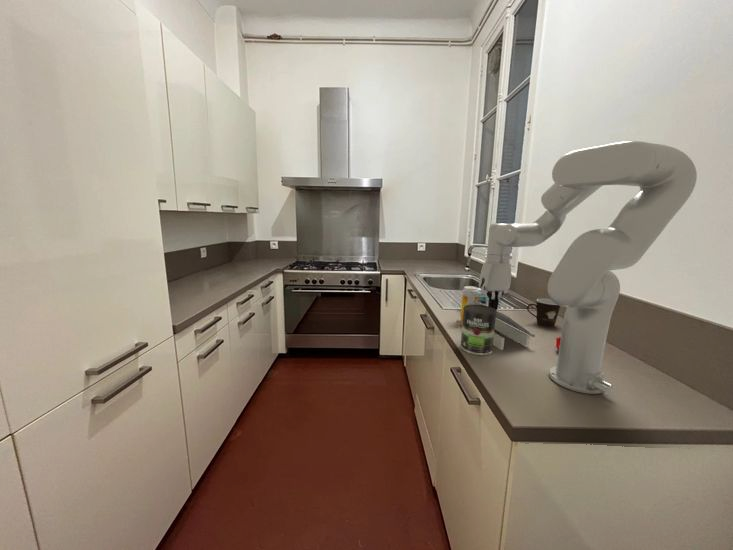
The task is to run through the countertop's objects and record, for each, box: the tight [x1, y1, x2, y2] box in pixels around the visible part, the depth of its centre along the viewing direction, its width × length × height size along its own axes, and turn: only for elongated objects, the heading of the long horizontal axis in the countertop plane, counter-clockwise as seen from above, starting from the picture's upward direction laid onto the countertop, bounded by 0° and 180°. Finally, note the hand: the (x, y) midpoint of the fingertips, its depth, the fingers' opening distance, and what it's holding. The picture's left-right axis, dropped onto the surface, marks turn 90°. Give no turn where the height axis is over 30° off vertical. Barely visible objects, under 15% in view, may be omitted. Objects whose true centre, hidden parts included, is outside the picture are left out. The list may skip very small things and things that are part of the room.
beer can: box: [460, 285, 479, 322], centre depth 122 cm, size 6×6×15 cm
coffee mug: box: [526, 298, 561, 328], centre depth 123 cm, size 12×9×10 cm
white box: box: [493, 318, 536, 351], centre depth 109 cm, size 23×12×5 cm, turn 13°
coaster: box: [456, 318, 463, 326], centre depth 124 cm, size 9×9×1 cm
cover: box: [473, 301, 531, 336], centre depth 108 cm, size 20×12×1 cm
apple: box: [555, 336, 561, 351], centre depth 97 cm, size 7×7×8 cm
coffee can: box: [459, 304, 498, 356], centre depth 98 cm, size 10×10×14 cm
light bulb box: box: [477, 287, 489, 306], centre depth 136 cm, size 11×7×11 cm, turn 179°
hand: (492, 308), depth 107 cm, fingers closed
